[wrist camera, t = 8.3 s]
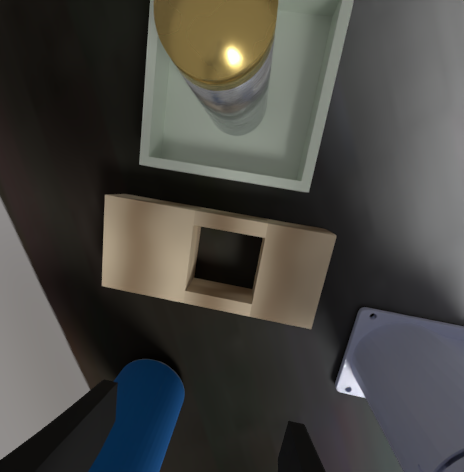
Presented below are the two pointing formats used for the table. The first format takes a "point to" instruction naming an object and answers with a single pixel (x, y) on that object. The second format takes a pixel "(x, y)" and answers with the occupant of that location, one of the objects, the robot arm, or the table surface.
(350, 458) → the table surface
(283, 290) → the wooden block with hole
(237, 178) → the tray
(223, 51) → the white and gold cylinder
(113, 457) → the beverage can
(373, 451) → the table surface
